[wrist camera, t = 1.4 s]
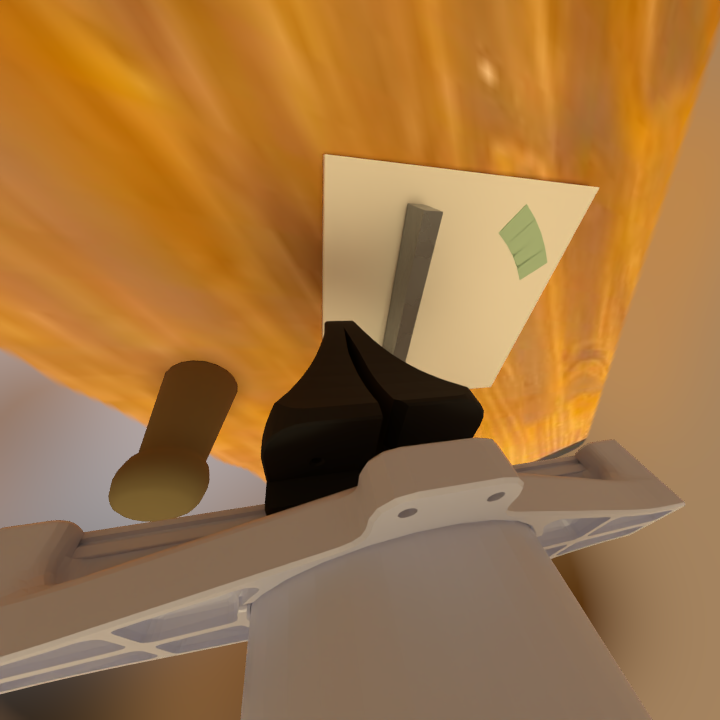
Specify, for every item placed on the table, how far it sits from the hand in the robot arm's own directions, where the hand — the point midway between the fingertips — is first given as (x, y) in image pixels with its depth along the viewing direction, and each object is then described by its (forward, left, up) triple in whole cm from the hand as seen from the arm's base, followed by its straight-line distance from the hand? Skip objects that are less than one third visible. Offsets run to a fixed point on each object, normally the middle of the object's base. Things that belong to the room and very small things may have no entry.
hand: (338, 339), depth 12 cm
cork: (-11, +11, -10) cm, 18 cm away
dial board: (-3, -10, -10) cm, 14 cm away
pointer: (-2, -6, -8) cm, 11 cm away
